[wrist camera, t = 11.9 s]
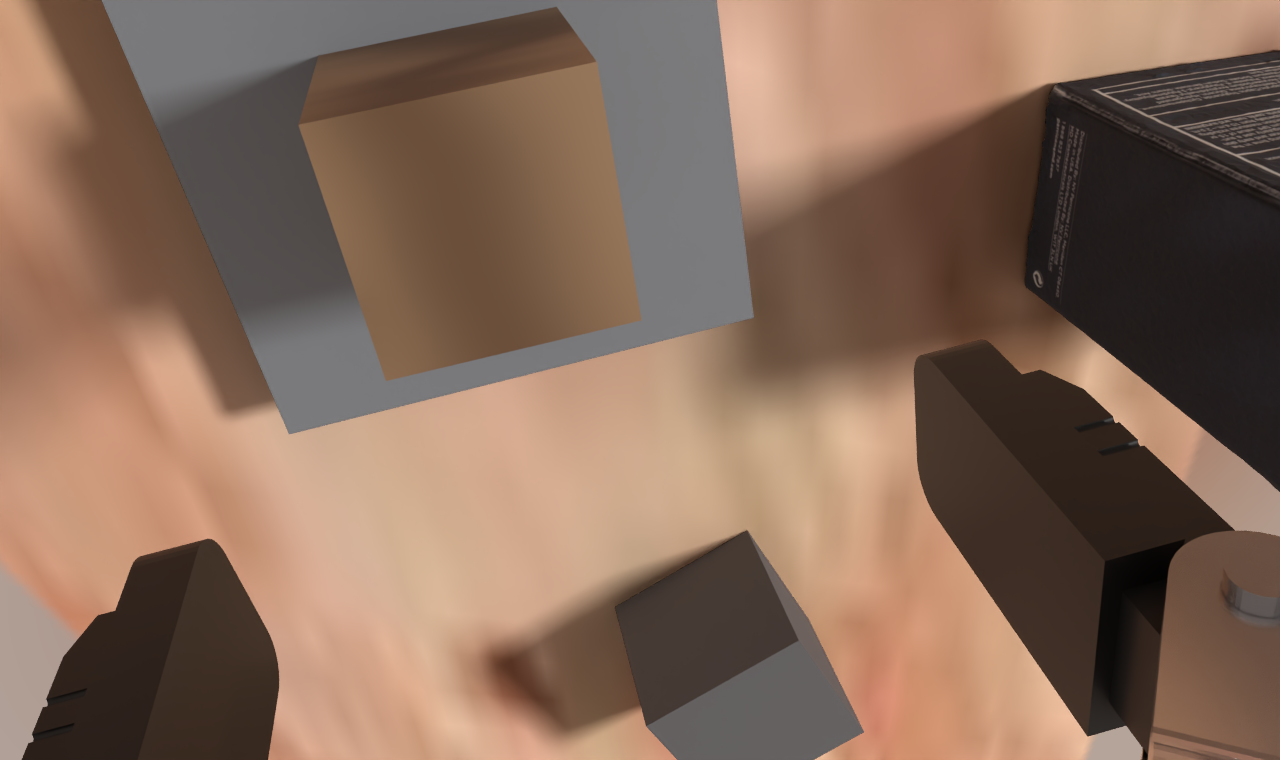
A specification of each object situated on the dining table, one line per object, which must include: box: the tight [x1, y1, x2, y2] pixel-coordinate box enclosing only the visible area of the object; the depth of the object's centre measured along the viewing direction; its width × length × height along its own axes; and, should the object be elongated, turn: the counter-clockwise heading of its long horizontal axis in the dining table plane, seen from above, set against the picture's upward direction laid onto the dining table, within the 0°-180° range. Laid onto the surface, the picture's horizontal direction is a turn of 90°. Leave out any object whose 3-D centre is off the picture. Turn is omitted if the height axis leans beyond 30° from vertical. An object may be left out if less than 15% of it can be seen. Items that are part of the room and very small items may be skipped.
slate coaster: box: [102, 0, 754, 434], centre depth 23 cm, size 12×12×2 cm
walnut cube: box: [298, 7, 642, 381], centre depth 20 cm, size 5×5×5 cm
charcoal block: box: [615, 531, 864, 760], centre depth 32 cm, size 5×5×5 cm
